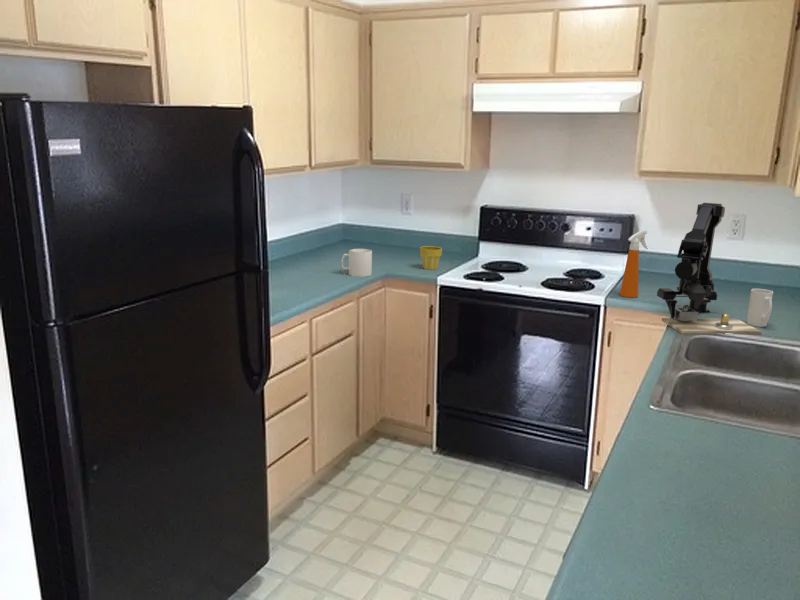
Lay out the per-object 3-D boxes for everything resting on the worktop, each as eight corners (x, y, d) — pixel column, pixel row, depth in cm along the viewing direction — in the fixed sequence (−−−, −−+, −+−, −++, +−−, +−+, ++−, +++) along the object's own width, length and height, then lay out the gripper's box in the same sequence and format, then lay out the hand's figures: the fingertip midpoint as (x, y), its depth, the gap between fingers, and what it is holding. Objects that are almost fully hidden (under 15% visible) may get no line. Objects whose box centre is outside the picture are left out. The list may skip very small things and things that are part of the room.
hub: (712, 325, 222) (714, 312, 221) (727, 325, 223) (729, 312, 222) (720, 329, 217) (722, 316, 216) (735, 329, 218) (737, 316, 217)
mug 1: (341, 276, 288) (341, 252, 285) (341, 271, 298) (341, 248, 295) (372, 276, 289) (372, 252, 286) (371, 271, 299) (371, 248, 296)
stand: (674, 318, 229) (676, 303, 228) (686, 318, 229) (688, 303, 228) (680, 322, 225) (682, 306, 224) (692, 322, 225) (694, 306, 224)
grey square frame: (670, 315, 230) (671, 306, 229) (688, 315, 230) (689, 307, 229) (679, 320, 224) (680, 311, 223) (697, 320, 224) (698, 312, 223)
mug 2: (741, 321, 232) (747, 288, 229) (760, 321, 232) (766, 288, 229) (757, 329, 222) (763, 295, 219) (777, 330, 222) (783, 295, 219)
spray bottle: (648, 296, 265) (656, 231, 259) (628, 298, 261) (636, 232, 254) (635, 292, 271) (642, 228, 265) (615, 294, 267) (622, 230, 260)
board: (661, 320, 230) (662, 318, 230) (736, 321, 231) (736, 318, 231) (681, 333, 215) (681, 330, 215) (761, 334, 217) (761, 331, 217)
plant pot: (445, 267, 311) (446, 247, 309) (434, 271, 303) (435, 250, 300) (426, 265, 316) (427, 245, 314) (415, 268, 308) (415, 247, 306)
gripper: (673, 279, 215) (667, 324, 219) (729, 279, 216) (722, 325, 220) (659, 271, 226) (653, 315, 229) (711, 272, 227) (705, 316, 230)
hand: (683, 318), depth 227 cm, fingers open, 8 cm apart
